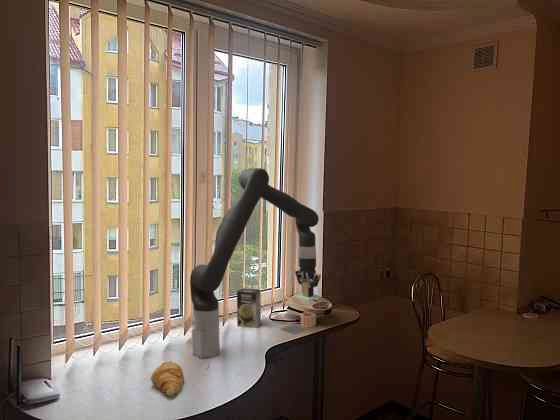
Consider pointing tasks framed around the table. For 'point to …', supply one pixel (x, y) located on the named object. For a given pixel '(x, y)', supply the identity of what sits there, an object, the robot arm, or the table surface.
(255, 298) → the coffee box
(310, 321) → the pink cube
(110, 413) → the table surface
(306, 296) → the lid
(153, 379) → the croissant
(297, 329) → the mat
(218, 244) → the robot arm
